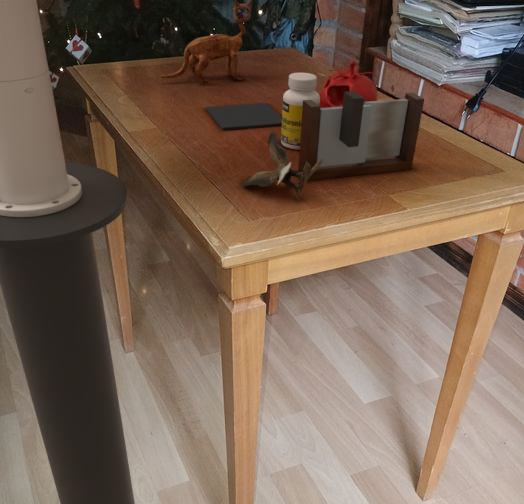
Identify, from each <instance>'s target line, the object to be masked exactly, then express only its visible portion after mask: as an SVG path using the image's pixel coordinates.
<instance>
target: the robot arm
mask: <svg viewBox="0 0 524 504" xmlns="http://www.w3.org/2000/svg"><path fill="white" fill-rule="evenodd" d="M62 142H63V141H62V137H61V132H60V126H59V119H58V114H57V108H56V102H55V97H54V91H53V85H52V79H51V73H50V68H49V65H48V59H47V53H46V47H45V42H44V37H43V30H42V25H41V19H40V14H39V8H38V1H37V0H0V215H1V216H7V217H18V218H22V217H37V216H43V215H48V214H52V213H56V212H59V211H62V210H64V209H67V208H68V207H70V206H72V205H74V204H75V203H76V202H77V201H78V200H79V199H80V198H81V196H82V187H81V184H80V182H79V181H78V180H77V179H76V178H74V177H73V176H70V175H68V174H67V171H66V165H65V162H66V160H65V153H64V150H63V143H62Z"/></svg>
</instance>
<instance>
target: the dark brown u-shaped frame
mask: <svg viewBox="0 0 524 504" xmlns="http://www.w3.org/2000/svg"><path fill="white" fill-rule="evenodd" d="M424 103H425V98H424V97H421V96H420V95H418V94H416V93H415V92H405V95H404V98H400V99H399V98H397V99H385V100H377V101H370V102H364V105H372V113H371V121H370V128H369V135H368V143H367V150H366V158H365V162H363V163H353V164H343V165H333V166H323V167H318V168H317V170H316V171H315V172H314V173H313V174H312V175H311V176H310V178H309V179H308V181H317V180H326V179H335V178H344V177H353V176H364V175H372V174H383V173H390V172H400V171H409V170H412V169H413V165H414V164H413V163H414V158H415V152H416V147H417V141H418V135H419V130H420V125H421V120H422V114H423V109H424ZM319 114H320V106H319V105H317V104H316V103H315V102H314V101H312V100H303V108H302V123H301V138H300V150H299V155H298V168H297V172H299V173H300V172H302V173H303V169H304V166H305V163H306V161H307V162H308V163H309V164H310V166H311V169H312V168H313V167H314V166H315V162H316V150H317V138H318V126H319Z"/></svg>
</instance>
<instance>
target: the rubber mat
mask: <svg viewBox="0 0 524 504" xmlns="http://www.w3.org/2000/svg"><path fill="white" fill-rule="evenodd" d="M205 110H206V112H207V113H208V114H209V115H210V116H211V118H212V119H213V121H215V123H216V124H217V125H218V126H219V128H220V129H221V130H222V131H230V130H243V129H255V128H267V127H279V126H280V127H282V115H280V114H279V113H278V112H277V111H276V110H275V109H274V108H273V107H272V106H271V105H270V104H268V103H267V102H259V103H257V102H256V103H245V104H244V103H243V104H230V105H229V104H228V105H215V106H205Z"/></svg>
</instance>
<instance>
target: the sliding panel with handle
mask: <svg viewBox="0 0 524 504" xmlns="http://www.w3.org/2000/svg"><path fill="white" fill-rule="evenodd" d="M371 113H372V105H364V98H363V97H362V96H360V95H359V94H357V93H356V92H354V91H351V92H344V98H343V107H330V108H320V114H319V126H318V138H317V150H316V162H315V164H317V163H318V162H319V160H320V159H323V160H322V162H321V164H320V166H319V167H323V166H333V165H343V164H353V163H363V162H365V158H366V150H367V143H368V135H369V128H370V121H371Z"/></svg>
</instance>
